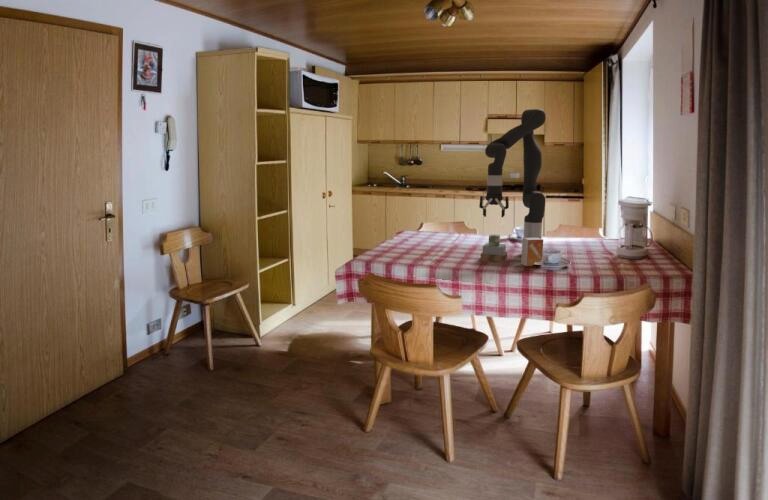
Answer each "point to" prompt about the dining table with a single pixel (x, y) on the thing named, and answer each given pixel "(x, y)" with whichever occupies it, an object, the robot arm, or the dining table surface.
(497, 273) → the dining table surface
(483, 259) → the walnut base block
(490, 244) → the sage cube
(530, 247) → the small box
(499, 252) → the slate top block
